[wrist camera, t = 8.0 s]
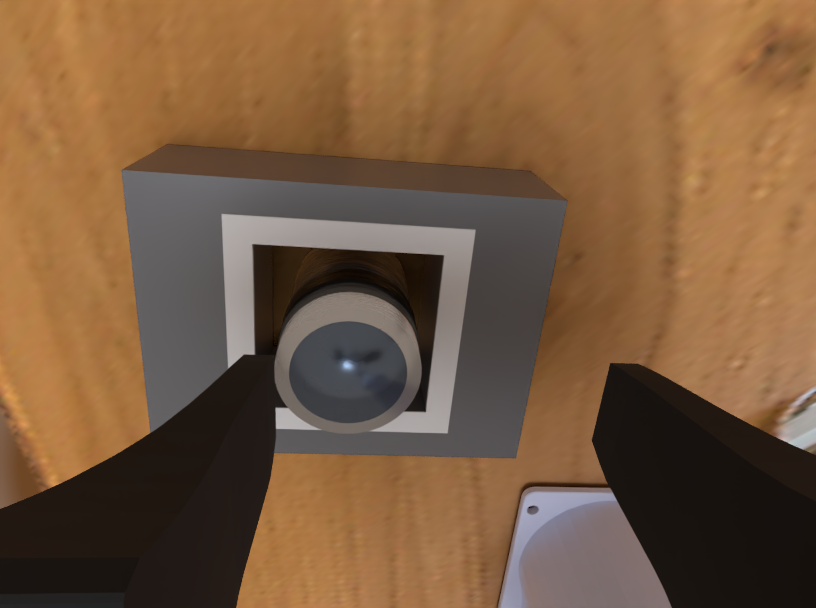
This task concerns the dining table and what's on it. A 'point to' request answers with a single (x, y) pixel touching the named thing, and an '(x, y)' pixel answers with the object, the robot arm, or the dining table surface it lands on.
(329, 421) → the lens
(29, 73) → the dining table surface
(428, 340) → the grey hollow block
